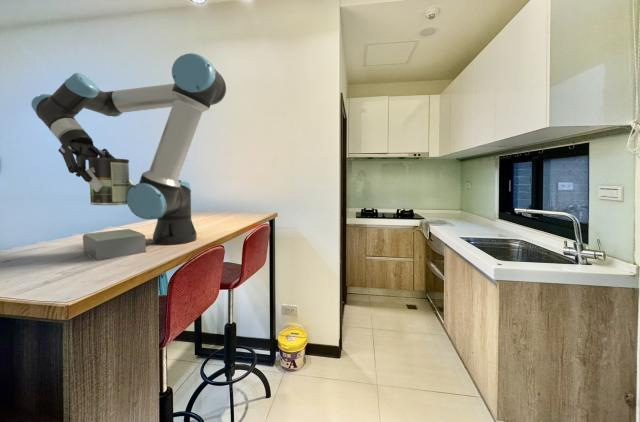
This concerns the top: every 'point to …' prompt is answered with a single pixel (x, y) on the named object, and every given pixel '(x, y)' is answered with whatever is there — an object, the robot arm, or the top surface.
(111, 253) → the base block
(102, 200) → the coffee can
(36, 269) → the top surface
